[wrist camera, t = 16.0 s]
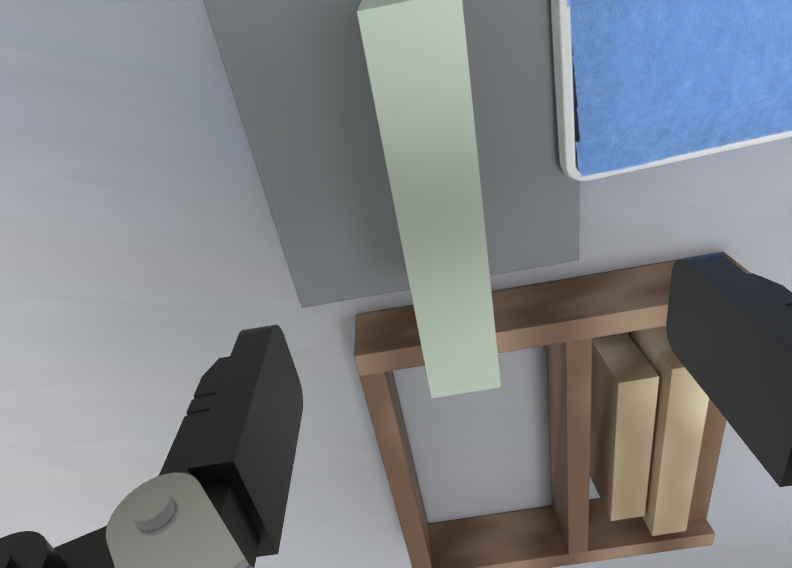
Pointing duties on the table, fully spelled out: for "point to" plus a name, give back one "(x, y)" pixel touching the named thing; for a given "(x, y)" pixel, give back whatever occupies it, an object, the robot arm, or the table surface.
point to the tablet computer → (667, 80)
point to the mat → (362, 145)
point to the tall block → (435, 183)
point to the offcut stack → (644, 429)
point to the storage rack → (568, 419)
